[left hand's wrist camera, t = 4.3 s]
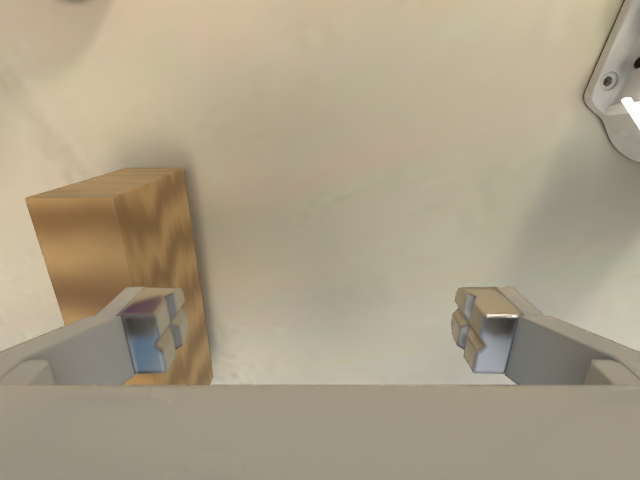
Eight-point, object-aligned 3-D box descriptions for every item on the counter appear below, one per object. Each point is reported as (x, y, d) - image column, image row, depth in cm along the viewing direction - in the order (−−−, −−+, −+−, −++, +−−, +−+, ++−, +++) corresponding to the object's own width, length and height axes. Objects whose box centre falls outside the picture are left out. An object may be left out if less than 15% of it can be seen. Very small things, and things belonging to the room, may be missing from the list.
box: (124, 168, 34) (24, 197, 22) (183, 168, 34) (112, 198, 22) (167, 376, 43) (110, 471, 32) (213, 376, 43) (173, 471, 32)
